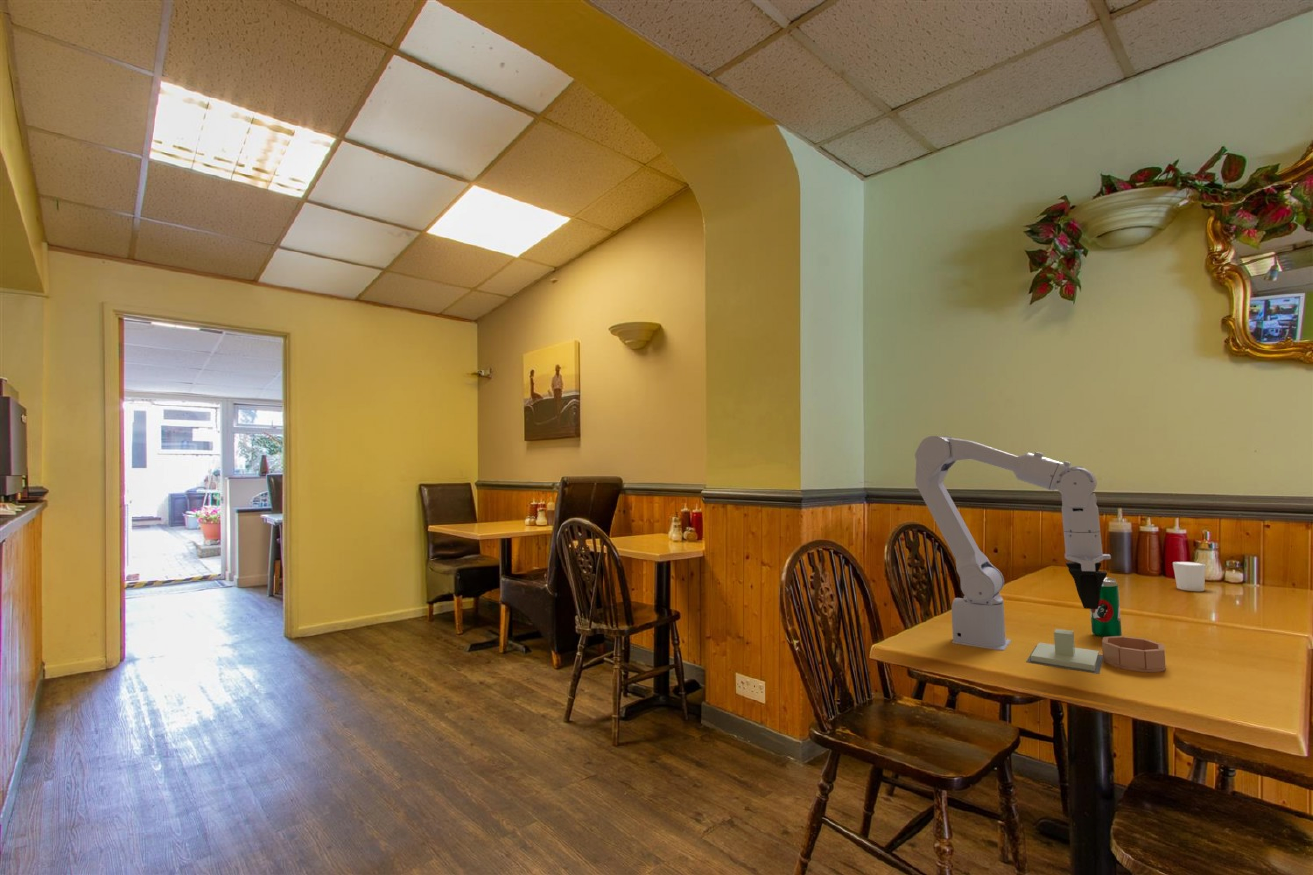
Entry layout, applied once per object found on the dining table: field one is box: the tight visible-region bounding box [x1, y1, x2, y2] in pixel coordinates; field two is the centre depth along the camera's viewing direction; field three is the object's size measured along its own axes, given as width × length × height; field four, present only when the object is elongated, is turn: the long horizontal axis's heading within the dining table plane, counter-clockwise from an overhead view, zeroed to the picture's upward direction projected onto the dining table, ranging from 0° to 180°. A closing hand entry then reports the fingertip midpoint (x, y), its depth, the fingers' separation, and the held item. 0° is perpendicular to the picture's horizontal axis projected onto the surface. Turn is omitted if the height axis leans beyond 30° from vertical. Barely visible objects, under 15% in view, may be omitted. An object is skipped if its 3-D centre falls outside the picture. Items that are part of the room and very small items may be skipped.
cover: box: [1030, 628, 1100, 671], centre depth 113 cm, size 10×10×5 cm
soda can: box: [1089, 576, 1123, 638], centre depth 127 cm, size 5×5×12 cm
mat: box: [1025, 645, 1104, 675], centre depth 113 cm, size 11×12×1 cm
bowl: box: [1101, 635, 1167, 673], centre depth 110 cm, size 9×9×4 cm
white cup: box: [1172, 561, 1206, 592], centre depth 166 cm, size 7×7×7 cm
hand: (1088, 603), depth 113 cm, fingers open, 7 cm apart
